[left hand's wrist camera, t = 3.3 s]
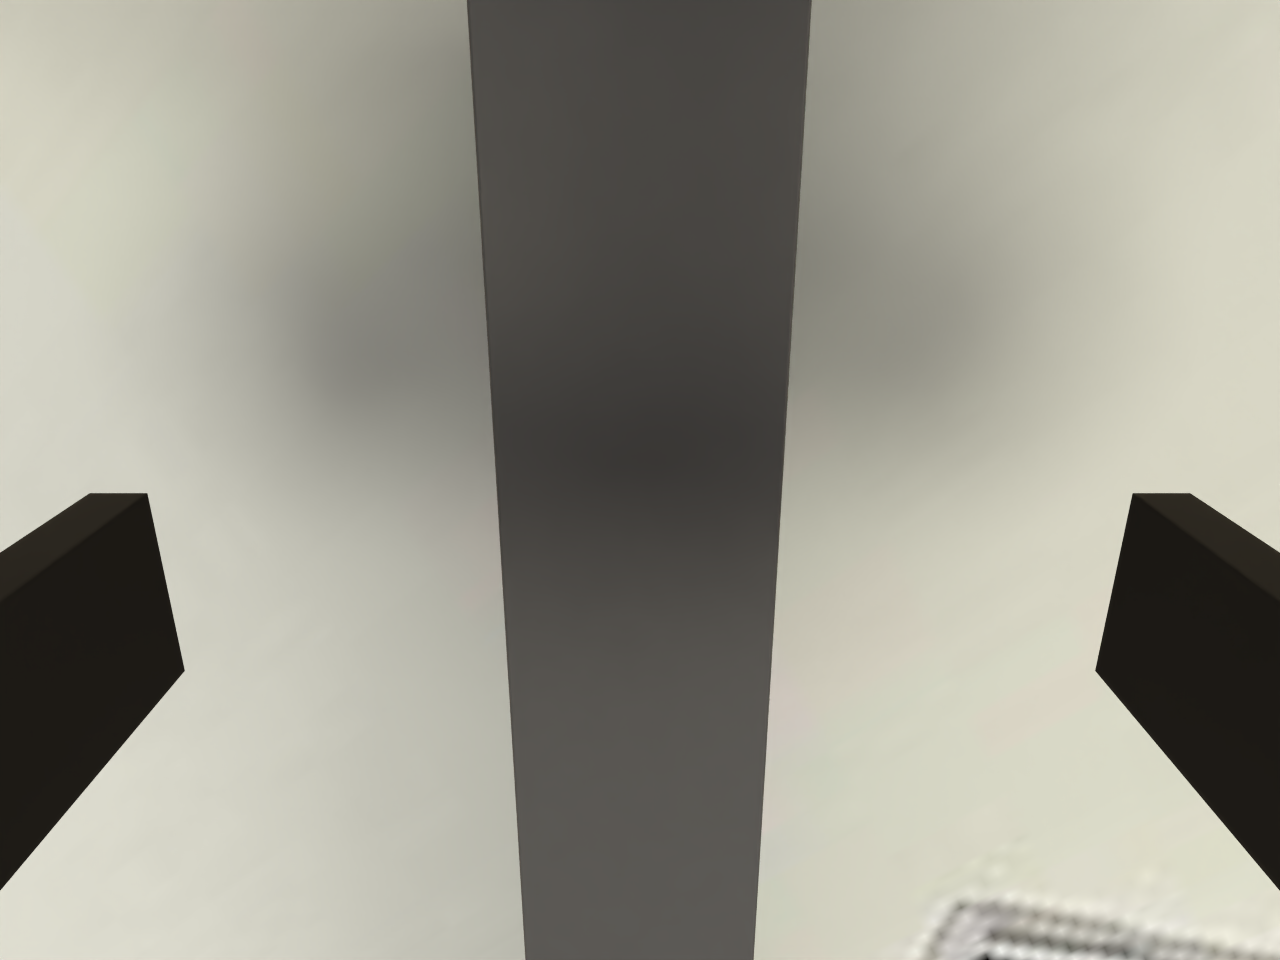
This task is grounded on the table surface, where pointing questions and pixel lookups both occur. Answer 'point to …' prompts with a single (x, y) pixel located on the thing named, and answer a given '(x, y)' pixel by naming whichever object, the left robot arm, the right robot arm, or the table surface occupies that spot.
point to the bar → (639, 447)
